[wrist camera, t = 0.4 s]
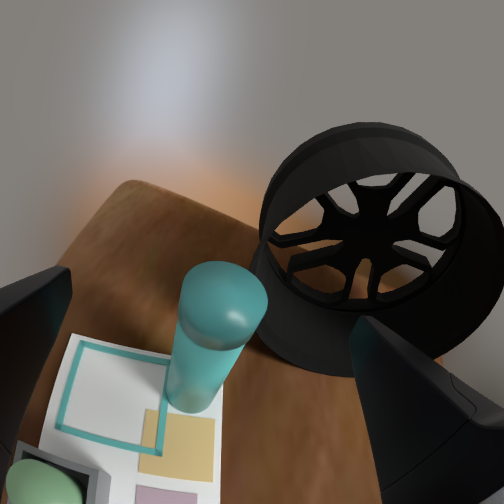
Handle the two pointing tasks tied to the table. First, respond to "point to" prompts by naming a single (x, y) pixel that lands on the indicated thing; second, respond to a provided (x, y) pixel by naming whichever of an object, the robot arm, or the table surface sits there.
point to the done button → (42, 484)
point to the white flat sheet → (132, 426)
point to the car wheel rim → (374, 249)
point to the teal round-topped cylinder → (211, 331)
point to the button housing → (97, 479)
